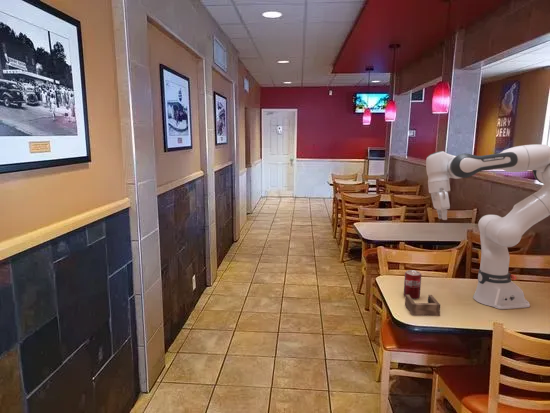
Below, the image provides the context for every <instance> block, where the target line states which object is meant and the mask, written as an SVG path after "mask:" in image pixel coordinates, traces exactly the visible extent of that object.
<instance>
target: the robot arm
mask: <svg viewBox="0 0 550 413" xmlns="http://www.w3.org/2000/svg"><path fill="white" fill-rule="evenodd" d="M425 166H426V168H425V169H426V175H427V177H428V178H427V179H428V180H427V186H428V193H429V194H430V197H431V201H432V206H433V209H435V210H436V213H437V216H438V217H437V218H438V219H439V220H443V221H447V220H448V210H450V208H451V204H450V198H449V192H451V185H450V179H456V180H457V179H459V180H460V179H467V178H471V177H472V176H475V175H476V174H478V173H479V172H484V171H491V170H503V171H505V172H507V173H521V172H527V171H528V172H529V171H532V174H533V176H534V179H535V180H536V181H537V182H539V183H540V184H542V186H541V187H540V188H539V189H538V190H537V191H536V192H533V193H532V194H531V195H529V196H527V197H525V198H523V199H522V200H520V201H518V202H517V203H516V204H514V205H513V207H512V209H511V210H510V211H509V212H508V213H507V214H506V215H505V216H503V217H502V216H500V215H497V214H486V215H483V216H481V217H480V219H479V221H478V223H477V224H478V226H477V227H478V231H479V235H480V236H479V238H480V239H479V240H480V248H481V255H480V266H479V269H478V275H477V285H476V289H475V292H474V294H473V296H472V299H474V300H475V301H476V302H477V303H480V304H482V305H485V306H487V307H488V306H490V307H492V308H496V309H498V310H511V309H522V308H523V309H524V308H530V307H531V306H530V305H531V304H530V302H529V301H528V300H527V299H526V298H525V293H524V291H523V289H522V288H521V287H520V286H519V285H517V284H516V283H515V282H514V281H516V280H517V275H515V274H512V273H510V272H509V268H510V258H511V257H510V253H509V249H508V248H512V247H515V246H517V244H519V243H520V242H521V239H522V237H523V235H524V234H525V233H526V232H527V231H528V230H530V229H531V227H533V226H534V225H536V224H537V223H539V222H541V221H543V220H544V219H546V218H547V217H549V216H550V146H549V145H547V144H536V143H535V144H524V145H523V144H522V145H517V146H512V147H510V148H506V149H504V150H502V151H501V152H498V153H491V154H485V155H475V154H472V153H467V152H466V153H460V154H458V155H453V154H450V153H447V152H445V151H443V150H440V151H436V152H432V153H431V154H429V155H428V156H427V157H426V160H425ZM512 280H513V281H512Z"/></svg>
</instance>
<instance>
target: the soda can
mask: <svg viewBox="0 0 550 413" xmlns="http://www.w3.org/2000/svg"><path fill="white" fill-rule="evenodd" d="M403 284H404V285H403V296H404V297H405V295H410V297H411V298H412V299H413V301H414V300H418V299H420V298H421V288H422V286H421V284H422V273H421V272H420V271H419V270H412V269H409V270H406V271H405V272H404V282H403Z"/></svg>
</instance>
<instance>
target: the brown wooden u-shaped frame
mask: <svg viewBox="0 0 550 413" xmlns="http://www.w3.org/2000/svg"><path fill="white" fill-rule="evenodd" d="M404 306H405V307H406V308H405V309H407V311H408V312H409V314H410V315H411V316H416V317H417V316H422V317H423V316H424V317H425V316H427V317H431V316H432V317H433V316H435V317H440V315H441V303H440V302H439V301H438V300H437V299H436V298H435V297H434V296H433V295H432V294H428V296H427V302H415V301H414V300H413V299H412V298H411V297H410V295H405V296H404Z"/></svg>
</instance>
